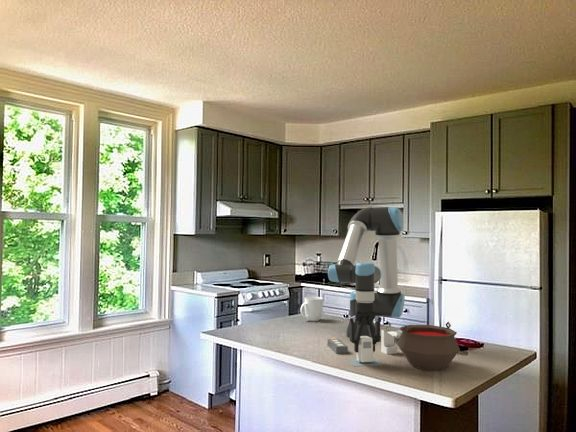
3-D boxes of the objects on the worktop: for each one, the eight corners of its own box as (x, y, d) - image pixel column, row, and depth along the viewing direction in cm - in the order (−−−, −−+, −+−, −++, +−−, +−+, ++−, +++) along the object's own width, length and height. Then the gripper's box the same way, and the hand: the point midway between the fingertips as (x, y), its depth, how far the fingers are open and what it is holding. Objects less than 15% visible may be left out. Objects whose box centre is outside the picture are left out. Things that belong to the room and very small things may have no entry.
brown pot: (424, 377, 163) (423, 331, 164) (384, 360, 185) (384, 319, 186) (474, 370, 173) (473, 326, 173) (430, 354, 195) (430, 315, 195)
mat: (374, 359, 186) (374, 358, 186) (383, 365, 177) (383, 364, 177) (346, 360, 184) (346, 359, 184) (354, 367, 175) (354, 366, 175)
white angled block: (373, 348, 195) (381, 329, 197) (388, 357, 198) (396, 339, 201) (378, 350, 191) (386, 331, 194) (394, 359, 195) (402, 340, 197)
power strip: (334, 342, 213) (334, 334, 213) (347, 353, 194) (347, 345, 194) (323, 343, 212) (324, 335, 213) (336, 354, 193) (336, 345, 193)
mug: (306, 323, 258) (306, 300, 258) (295, 320, 266) (295, 298, 267) (326, 320, 266) (326, 298, 267) (314, 317, 275) (315, 296, 276)
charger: (366, 358, 185) (366, 335, 186) (373, 361, 178) (372, 338, 179) (356, 358, 184) (355, 336, 185) (362, 362, 177) (361, 338, 178)
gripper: (381, 299, 187) (381, 356, 186) (341, 300, 183) (340, 358, 183) (389, 302, 179) (389, 361, 178) (346, 303, 176) (346, 363, 175)
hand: (364, 360), depth 180 cm, fingers closed on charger, 4 cm apart
